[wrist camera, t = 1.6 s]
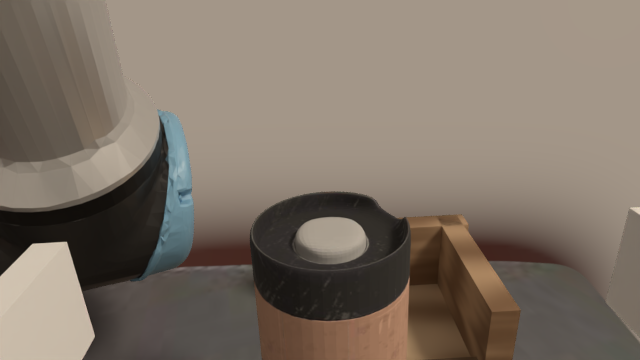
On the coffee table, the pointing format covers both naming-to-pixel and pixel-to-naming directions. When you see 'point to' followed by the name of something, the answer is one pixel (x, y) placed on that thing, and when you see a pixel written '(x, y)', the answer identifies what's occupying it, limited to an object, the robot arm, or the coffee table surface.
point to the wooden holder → (455, 296)
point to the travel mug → (331, 279)
